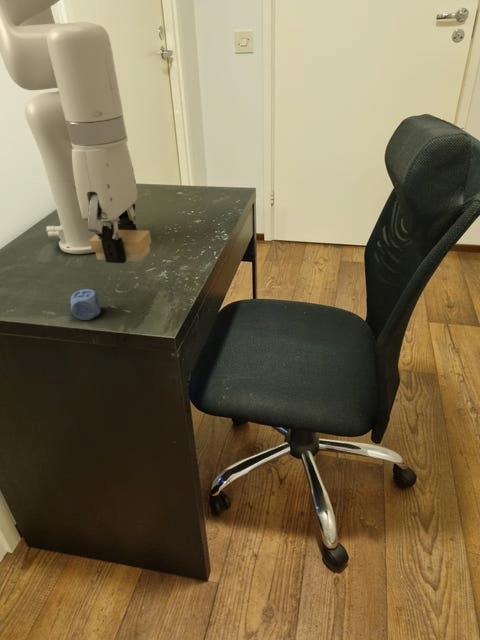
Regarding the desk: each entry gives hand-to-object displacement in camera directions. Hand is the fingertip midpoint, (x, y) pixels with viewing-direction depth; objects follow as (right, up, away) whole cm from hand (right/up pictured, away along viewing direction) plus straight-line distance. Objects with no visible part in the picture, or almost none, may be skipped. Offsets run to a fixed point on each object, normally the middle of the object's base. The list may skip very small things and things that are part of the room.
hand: (123, 253), depth 73 cm
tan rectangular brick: (0, 0, 0) cm, 0 cm away
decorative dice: (-8, -10, +9) cm, 16 cm away
